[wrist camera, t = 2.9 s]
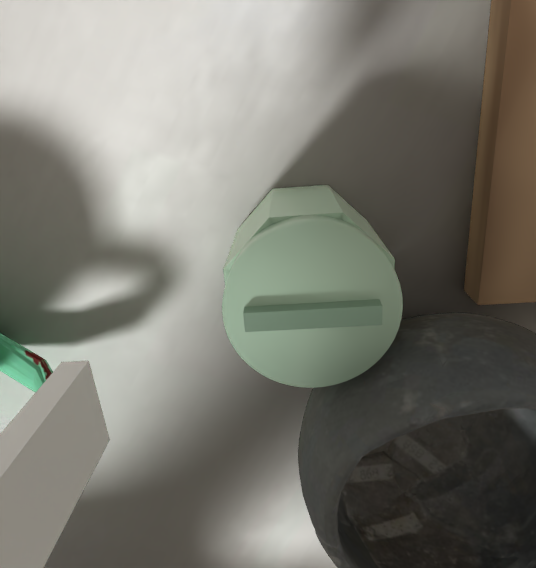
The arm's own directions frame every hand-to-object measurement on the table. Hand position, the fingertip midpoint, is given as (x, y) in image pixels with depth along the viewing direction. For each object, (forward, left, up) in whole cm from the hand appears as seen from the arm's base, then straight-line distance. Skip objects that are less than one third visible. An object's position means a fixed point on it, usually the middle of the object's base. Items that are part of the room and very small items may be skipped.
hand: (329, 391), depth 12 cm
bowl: (+6, -10, -14) cm, 18 cm away
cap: (0, 0, -14) cm, 14 cm away
